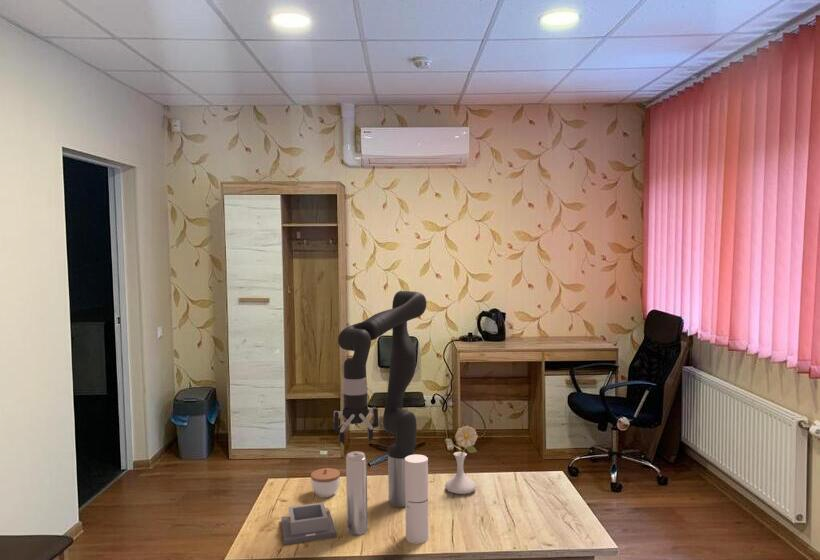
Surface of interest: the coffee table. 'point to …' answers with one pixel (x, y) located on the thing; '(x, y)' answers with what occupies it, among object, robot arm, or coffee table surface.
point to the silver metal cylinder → (356, 493)
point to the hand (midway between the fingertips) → (356, 441)
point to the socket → (307, 524)
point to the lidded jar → (325, 482)
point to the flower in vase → (462, 462)
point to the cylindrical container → (416, 498)
